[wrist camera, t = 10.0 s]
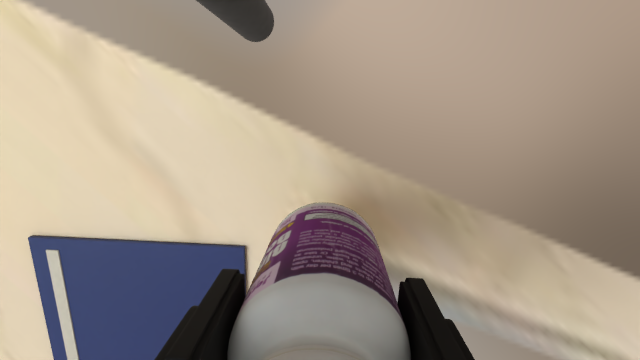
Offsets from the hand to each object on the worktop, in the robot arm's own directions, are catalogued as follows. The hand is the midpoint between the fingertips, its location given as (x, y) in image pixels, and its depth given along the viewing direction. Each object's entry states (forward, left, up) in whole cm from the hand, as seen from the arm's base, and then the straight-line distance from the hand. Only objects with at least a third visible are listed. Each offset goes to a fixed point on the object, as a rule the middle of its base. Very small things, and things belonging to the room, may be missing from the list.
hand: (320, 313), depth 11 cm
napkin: (+9, -12, -9) cm, 17 cm away
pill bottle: (0, 0, -5) cm, 5 cm away
